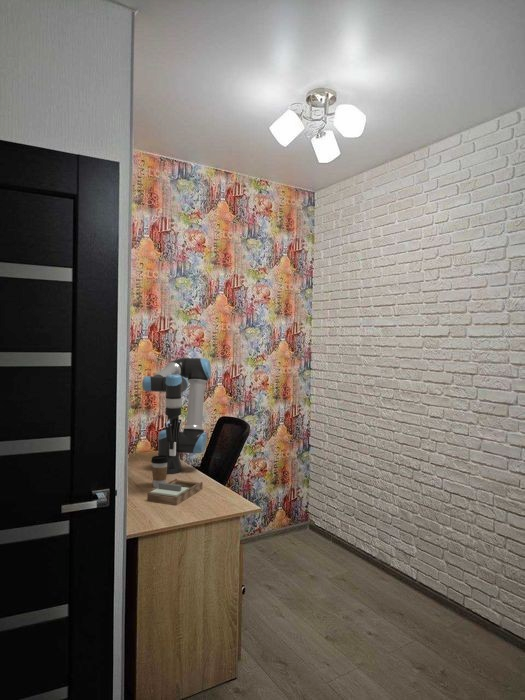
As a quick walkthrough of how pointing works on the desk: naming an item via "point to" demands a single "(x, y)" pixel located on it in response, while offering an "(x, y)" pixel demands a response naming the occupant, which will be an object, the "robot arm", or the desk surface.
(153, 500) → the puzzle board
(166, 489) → the lid
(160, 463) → the coffee cup
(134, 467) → the desk surface
